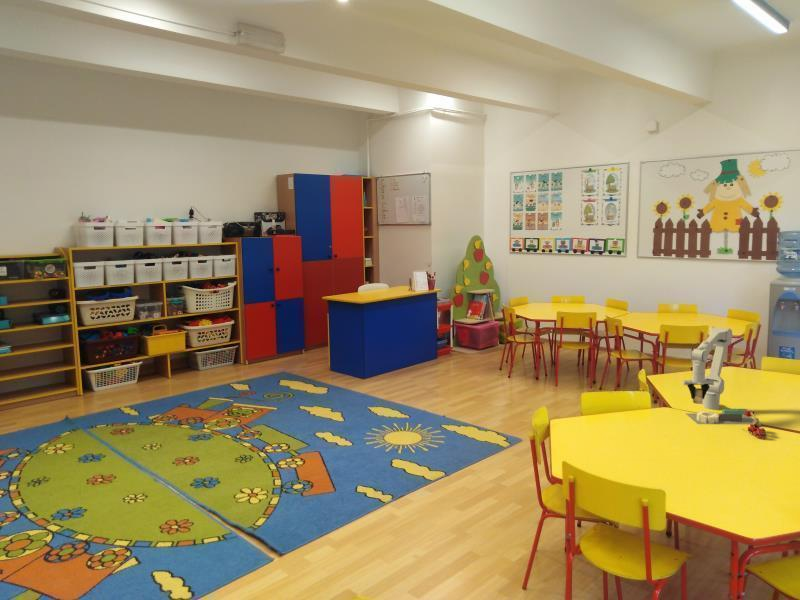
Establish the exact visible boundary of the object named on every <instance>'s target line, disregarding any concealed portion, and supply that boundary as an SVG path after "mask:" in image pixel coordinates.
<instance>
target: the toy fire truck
mask: <svg viewBox="0 0 800 600" xmlns="http://www.w3.org/2000/svg"><path fill="white" fill-rule="evenodd" d="M744 415H746V416H747V417H752V418H753V419H754V421H753V423H752V424H749V426H748V427H747V432H748V433H749V434H751V436H755V437H756V439H760V440H761V439H766V436H767V435H766V434H767V433H766V429H765V428H763V427H762V428H760V427H758V425H757V424H758V423H760V419H759V417H757V415H755V411H753V410H750V411H744ZM754 426H755V427H754Z"/></svg>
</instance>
